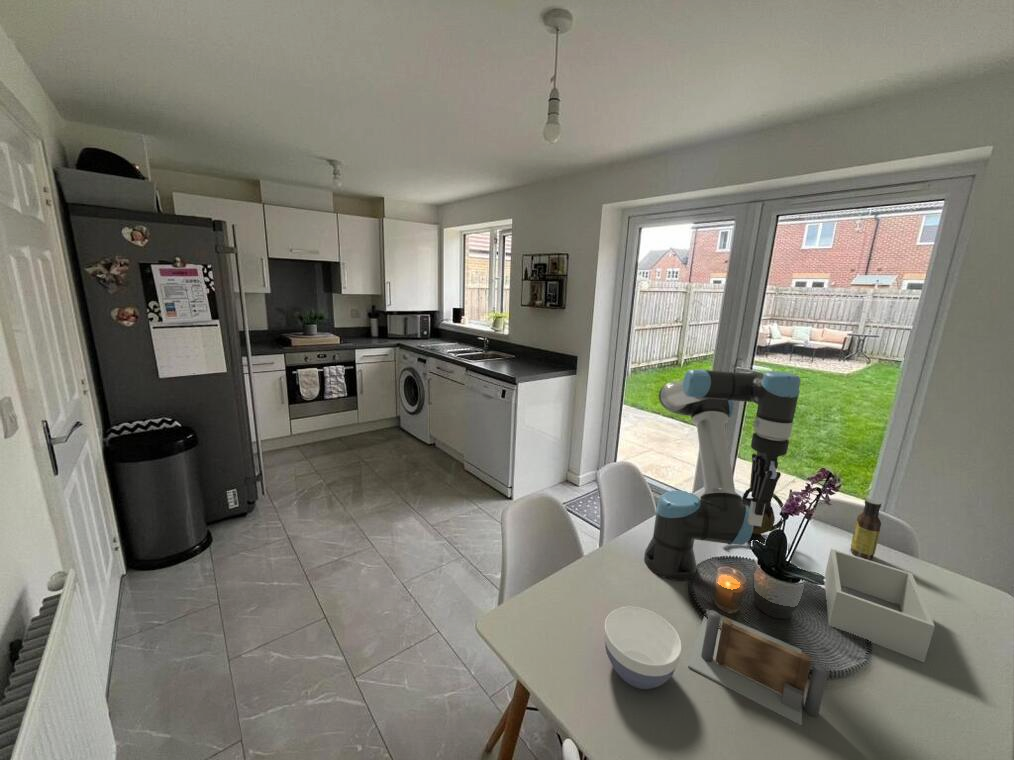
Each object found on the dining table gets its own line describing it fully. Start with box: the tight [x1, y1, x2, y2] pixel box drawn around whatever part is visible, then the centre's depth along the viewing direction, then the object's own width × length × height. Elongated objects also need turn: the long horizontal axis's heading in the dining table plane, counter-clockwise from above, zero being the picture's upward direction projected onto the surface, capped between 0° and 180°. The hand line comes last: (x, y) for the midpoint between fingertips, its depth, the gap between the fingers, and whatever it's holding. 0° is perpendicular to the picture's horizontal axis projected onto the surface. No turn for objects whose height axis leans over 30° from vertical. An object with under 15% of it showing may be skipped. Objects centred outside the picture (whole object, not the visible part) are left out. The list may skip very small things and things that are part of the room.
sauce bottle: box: [849, 498, 882, 561], centre depth 138 cm, size 6×6×20 cm
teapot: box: [741, 487, 784, 545], centre depth 143 cm, size 12×25×23 cm, turn 107°
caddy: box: [824, 548, 936, 663], centre depth 111 cm, size 18×24×10 cm
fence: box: [687, 608, 829, 726], centre depth 93 cm, size 24×22×12 cm
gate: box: [715, 618, 812, 705], centre depth 88 cm, size 16×2×10 cm, turn 54°
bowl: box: [603, 606, 683, 690], centre depth 90 cm, size 16×16×10 cm
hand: (754, 523), depth 104 cm, fingers closed
